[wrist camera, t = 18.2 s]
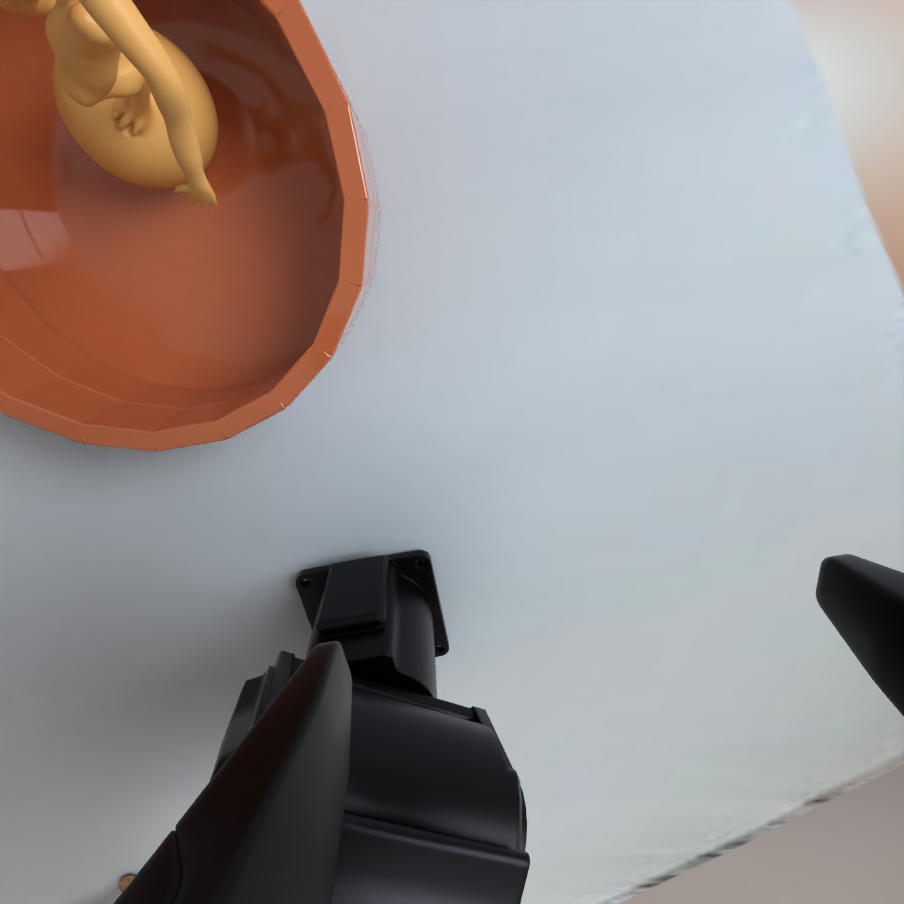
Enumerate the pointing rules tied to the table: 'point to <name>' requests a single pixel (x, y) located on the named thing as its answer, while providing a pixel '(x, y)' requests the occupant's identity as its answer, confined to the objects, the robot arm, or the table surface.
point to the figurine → (129, 95)
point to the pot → (182, 241)
